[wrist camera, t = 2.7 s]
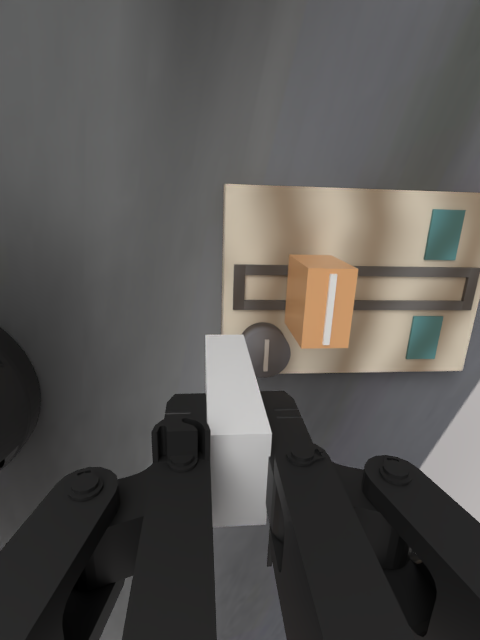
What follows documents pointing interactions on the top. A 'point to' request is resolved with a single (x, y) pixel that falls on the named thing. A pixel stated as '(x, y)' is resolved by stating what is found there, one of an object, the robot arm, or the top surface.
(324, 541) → the robot arm
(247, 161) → the top surface
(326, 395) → the top surface
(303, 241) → the console
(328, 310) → the fader knob
